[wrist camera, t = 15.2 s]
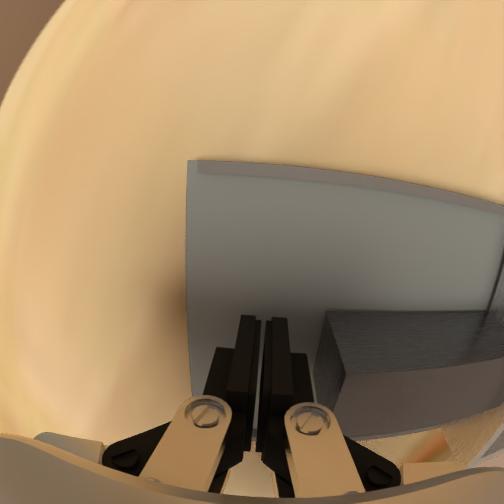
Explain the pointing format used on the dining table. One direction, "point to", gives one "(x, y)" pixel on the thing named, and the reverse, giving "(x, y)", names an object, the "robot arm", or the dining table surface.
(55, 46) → the dining table surface
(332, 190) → the base board
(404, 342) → the housing
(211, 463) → the robot arm
